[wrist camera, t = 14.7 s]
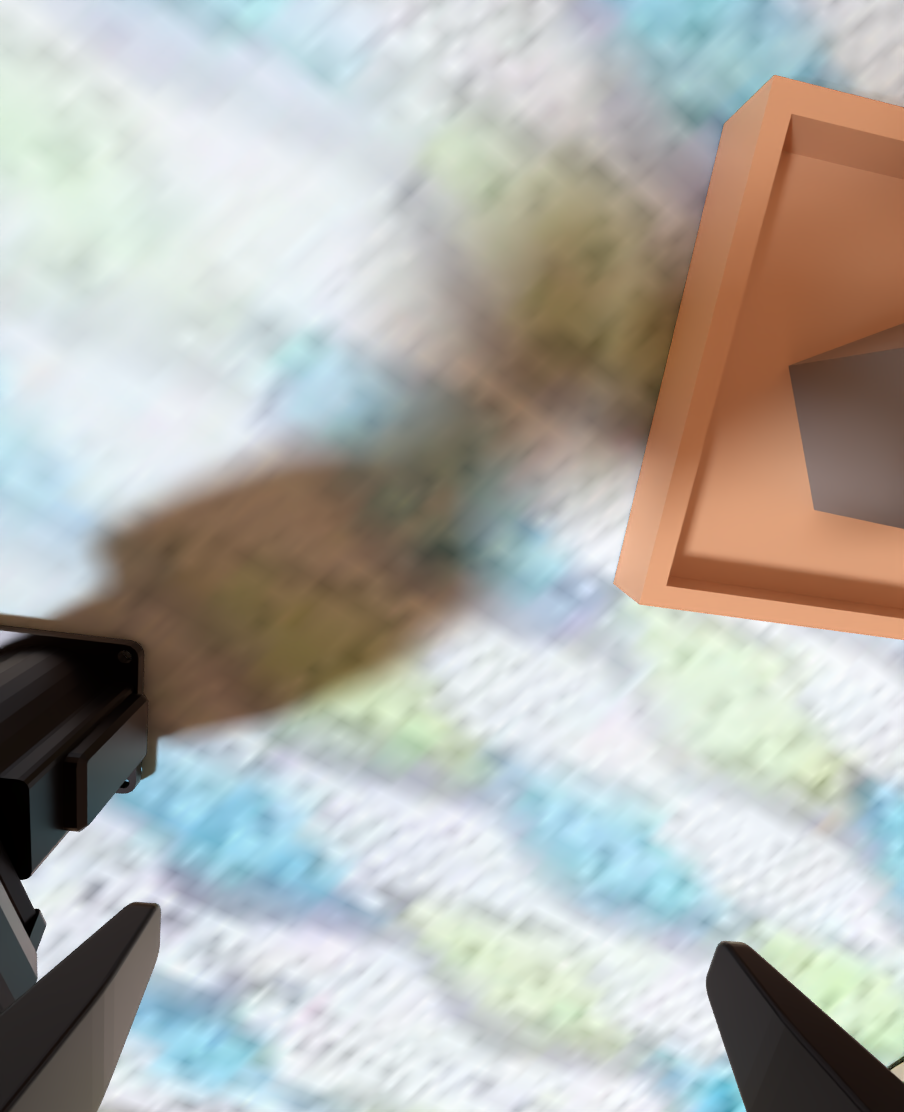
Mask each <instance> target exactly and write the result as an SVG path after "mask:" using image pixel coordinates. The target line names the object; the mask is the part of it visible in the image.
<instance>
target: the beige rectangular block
mask: <svg viewBox="0 0 904 1112" xmlns="http://www.w3.org/2000/svg"><path fill="white" fill-rule="evenodd" d="M789 372H790V378H791V383H792V389H793V394H794V400H795V406H796V411H797V417H798V422H799V428H800V434H801V439H802V445H803V451H804V456H805V462H806V467H807V473H808V479H809V484H810V490H811V495H812V501H813V507H814V510H817V511H821V512H826V513H831V514H835V515H840V516H845V517H850V518H854V519H859V520H864V521H868V522H873V523H878V524H883V525H887V526H892V527H897V528H901V529H904V323H902V324H900V325H897V326H894V327H892V328H889V329H886V330H884V331H881V332H878V333H875V334H873V335H870V336H867V337H865V338H862V339H859V340H857V341H854V342H851V343H849V344H846V345H843V346H840V347H838V348H835V349H832V350H830V351H827V352H824V353H822V354H819V355H816V356H813V357H811V358H808V359H805V360H803V361H800V362H797V363H795V364H792V365H789Z"/></svg>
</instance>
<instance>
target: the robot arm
mask: <svg viewBox="0 0 904 1112" xmlns="http://www.w3.org/2000/svg"><path fill="white" fill-rule="evenodd" d="M123 651H127V652H129V653H130V654H131V656H132V658H131V659H130V658H127V657H126V656H125V655H124V653H123ZM143 672H144V652H143V649H142V647H141V646H140V645H139V644H138V643H137V642H134V641H131V640H123V639H114V638H105V637H96V636H88V635H79V634H70V633H62V632H53V631H44V630H35V629H27V628H18V627H9V626H0V1112H97V1111H98V1108H99V1106H100V1104H101V1102H102V1100H103V1097H104V1095H105V1093H106V1090H107V1088H108V1085H109V1083H110V1080H111V1078H112V1075H113V1073H114V1070H115V1067H116V1065H117V1062H118V1060H119V1057H120V1054H121V1052H122V1049H123V1047H124V1044H125V1041H126V1039H127V1036H128V1034H129V1031H130V1028H131V1026H132V1023H133V1021H134V1018H135V1016H136V1013H137V1010H138V1008H139V1005H140V1003H141V1000H142V997H143V995H144V992H145V990H146V987H147V984H148V982H149V979H150V977H151V974H152V971H153V969H154V966H155V963H156V960H157V957H158V953H159V947H160V925H161V908H160V906H159V904H156V903H145V902H133V903H131V904H129V905H127V906H126V907H124V908H123V909H122V910H121V911H120V912H119V913H117V914H116V915H115V916H114V917H113V918H112V919H110V920H109V921H108V922H107V923H106V924H105V925H103V926H102V927H101V928H100V929H99V930H98V931H96V932H95V933H94V934H93V935H92V936H91V937H89V938H88V939H87V940H86V941H85V942H84V943H82V944H81V945H80V946H79V947H78V948H77V949H75V950H74V951H73V952H72V953H71V954H70V955H68V956H67V957H66V958H65V959H64V960H63V961H61V962H60V963H59V964H58V965H57V966H55V967H54V968H53V969H52V970H51V971H50V972H48V973H47V974H46V975H45V976H44V977H43V978H41V979H40V980H39V981H38V982H37V983H36V981H37V953H36V952H37V949H38V946H39V943H40V941H41V938H42V935H43V933H44V930H45V927H46V922H45V920H44V918H43V915H42V913H41V911H40V910H39V909H34V908H33V906H32V904H31V902H30V900H29V898H28V895H27V893H26V891H25V889H24V887H23V885H22V883H21V881H20V880H24V879H28V878H29V877H30V876H31V875H32V874H33V873H34V872H35V871H36V869H37V868H38V867H39V866H40V865H41V864H42V862H43V861H44V860H45V859H46V858H47V857H48V855H49V854H50V853H51V852H52V851H53V850H54V848H55V847H56V846H57V845H58V844H59V842H60V841H61V840H62V839H63V838H64V837H65V835H66V834H67V833H68V832H69V831H77V832H80V831H82V830H83V829H84V828H86V827H87V826H88V825H89V824H90V823H91V822H92V821H93V819H94V818H95V817H96V816H97V815H98V813H99V812H100V811H101V810H102V808H103V807H104V806H105V805H106V804H107V802H108V801H109V800H110V799H111V797H112V796H113V795H114V794H115V793H122V794H123V793H129V792H131V791H133V789H134V788H135V787H136V786H137V784H138V783H139V782H140V779H141V761H142V759H143V758H144V757H145V756H146V753H147V721H148V700H147V699H146V697H145V695H143ZM126 779H128V780H129V782H127V781H125V780H126ZM35 983H36V984H35ZM706 989H707V994H708V998H709V1001H710V1004H711V1007H712V1010H713V1013H714V1016H715V1019H716V1022H717V1025H718V1028H719V1031H720V1034H721V1037H722V1040H723V1043H724V1046H725V1049H726V1052H727V1055H728V1058H729V1061H730V1064H731V1067H732V1070H733V1073H734V1076H735V1079H736V1082H737V1085H738V1088H739V1091H740V1094H741V1097H742V1100H743V1103H744V1106H745V1108H746V1111H747V1112H904V1082H903V1081H901V1080H900V1079H899V1078H898V1077H897V1076H896V1075H895V1074H893V1073H892V1072H891V1071H890V1070H889V1069H888V1068H887V1067H886V1066H884V1065H883V1064H882V1063H881V1062H880V1061H879V1060H878V1059H877V1058H875V1057H874V1056H873V1055H872V1054H871V1053H870V1052H869V1051H867V1050H866V1049H865V1048H864V1047H863V1046H862V1045H861V1044H860V1043H858V1042H857V1041H856V1040H855V1039H854V1038H853V1037H852V1036H851V1035H849V1034H848V1033H847V1032H846V1031H845V1030H844V1029H843V1028H841V1027H840V1026H839V1025H838V1024H837V1023H836V1022H835V1021H834V1020H832V1019H831V1018H830V1017H829V1016H828V1015H827V1014H826V1013H825V1012H823V1011H822V1010H821V1009H820V1008H819V1007H818V1006H817V1005H815V1004H814V1003H813V1002H812V1001H811V1000H810V999H809V998H808V997H806V996H805V995H804V994H803V993H802V992H801V991H800V990H799V989H797V988H796V987H795V986H794V985H793V984H792V983H791V982H790V981H788V980H787V979H786V978H785V977H784V976H783V975H782V974H780V973H779V972H778V971H777V970H776V969H775V968H774V967H773V966H771V965H770V964H769V963H768V962H767V961H766V960H765V959H764V958H762V957H761V956H760V955H759V954H758V953H757V952H756V951H754V950H753V949H752V948H751V947H750V946H748V945H747V944H745V943H742V942H733V941H722V942H720V943H719V944H718V946H717V948H716V951H715V953H714V956H713V959H712V962H711V965H710V968H709V971H708V973H707V977H706Z"/></svg>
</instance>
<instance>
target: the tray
mask: <svg viewBox="0 0 904 1112" xmlns="http://www.w3.org/2000/svg"><path fill="white" fill-rule="evenodd" d="M902 323H904V107H900V106H896V105H892V104H888V103H884V102H880V101H876V100H872V99H868V98H864V97H860V96H856V95H852V94H848V93H844V92H840V91H836V90H832V89H828V88H824V87H820V86H816V85H813V84H809V83H805V82H801V81H797V80H793V79H789V78H785V77H781V76H777V75H774V76H773V77H772V78H771V79H770V80H769V81H768V82H766V83H765V84H764V85H763V86H762V87H761V88H760V89H759V90H758V91H757V92H756V93H755V94H754V95H753V96H752V97H751V98H750V99H749V100H748V101H747V102H746V103H745V104H744V105H743V106H742V107H741V108H740V109H739V110H738V111H737V112H736V113H735V114H734V115H733V116H732V117H731V118H730V119H729V120H728V121H727V122H725V123H724V126H723V130H722V134H721V138H720V142H719V147H718V151H717V155H716V159H715V163H714V167H713V172H712V176H711V180H710V184H709V188H708V192H707V196H706V201H705V205H704V209H703V213H702V217H701V221H700V226H699V230H698V234H697V238H696V242H695V246H694V250H693V255H692V259H691V263H690V267H689V271H688V275H687V280H686V284H685V288H684V292H683V296H682V300H681V304H680V309H679V313H678V317H677V321H676V325H675V329H674V334H673V338H672V342H671V346H670V350H669V354H668V358H667V363H666V367H665V371H664V375H663V379H662V383H661V388H660V392H659V396H658V400H657V404H656V408H655V412H654V417H653V421H652V425H651V429H650V433H649V437H648V442H647V446H646V450H645V454H644V458H643V462H642V466H641V471H640V475H639V479H638V483H637V487H636V491H635V496H634V500H633V504H632V508H631V512H630V516H629V520H628V525H627V529H626V533H625V537H624V541H623V545H622V550H621V554H620V558H619V562H618V566H617V570H616V574H615V579H614V583H613V584H614V585H616V586H617V587H618V588H619V589H621V590H622V591H623V592H624V593H626V594H627V595H628V596H629V597H631V598H632V599H633V600H634V601H636V602H637V603H638V604H640V605H648V606H655V607H663V608H670V609H678V610H685V611H693V612H700V613H707V614H715V615H722V616H730V617H737V618H745V619H752V620H760V621H767V622H774V623H782V624H789V625H797V626H804V627H812V628H819V629H827V630H834V631H841V632H849V633H856V634H864V635H871V636H879V637H886V638H894V639H901V640H904V529H901V528H897V527H892V526H887V525H883V524H878V523H873V522H868V521H864V520H859V519H854V518H850V517H845V516H840V515H835V514H831V513H826V512H821V511H817V510H814V507H813V501H812V495H811V490H810V484H809V479H808V473H807V467H806V462H805V456H804V451H803V445H802V439H801V434H800V428H799V422H798V417H797V411H796V406H795V400H794V394H793V389H792V383H791V378H790V372H789V365H792V364H795V363H797V362H800V361H803V360H805V359H808V358H811V357H813V356H816V355H819V354H822V353H824V352H827V351H830V350H832V349H835V348H838V347H840V346H843V345H846V344H849V343H851V342H854V341H857V340H859V339H862V338H865V337H867V336H870V335H873V334H875V333H878V332H881V331H884V330H886V329H889V328H892V327H894V326H897V325H900V324H902Z"/></svg>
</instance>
